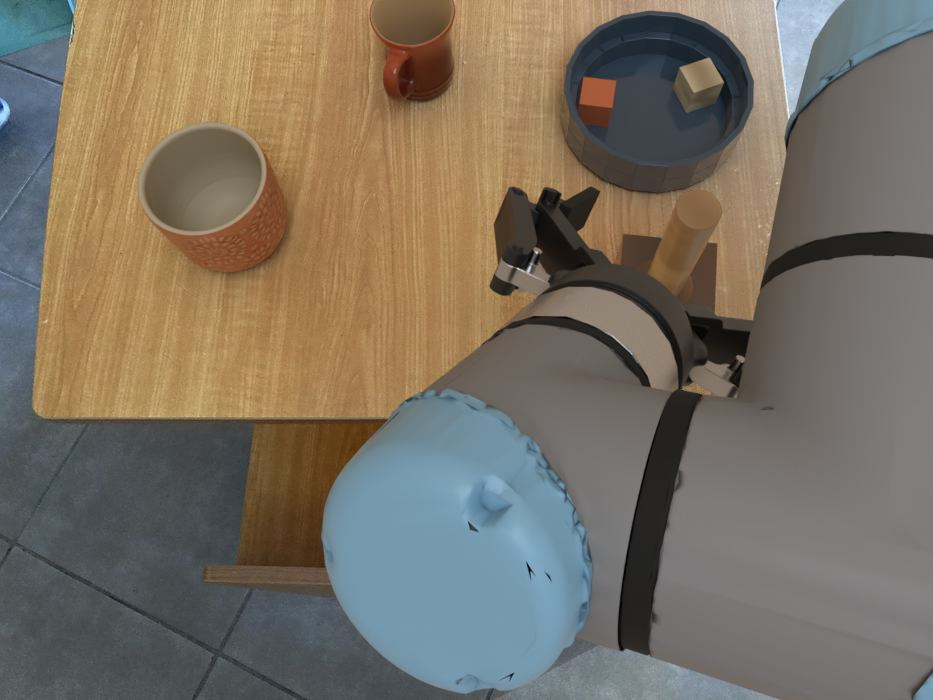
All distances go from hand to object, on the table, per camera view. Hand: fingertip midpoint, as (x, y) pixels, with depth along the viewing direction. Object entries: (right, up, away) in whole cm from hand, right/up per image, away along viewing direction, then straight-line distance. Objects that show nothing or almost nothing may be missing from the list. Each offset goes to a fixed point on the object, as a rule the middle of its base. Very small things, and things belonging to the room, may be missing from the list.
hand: (678, 253), depth 50 cm
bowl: (+6, +19, +34) cm, 39 cm away
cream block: (+11, +22, +34) cm, 42 cm away
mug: (-19, +23, +37) cm, 47 cm away
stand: (+4, -4, +26) cm, 26 cm away
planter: (-38, +6, +32) cm, 50 cm away
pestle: (+2, -2, +14) cm, 14 cm away
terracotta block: (0, +20, +34) cm, 39 cm away
